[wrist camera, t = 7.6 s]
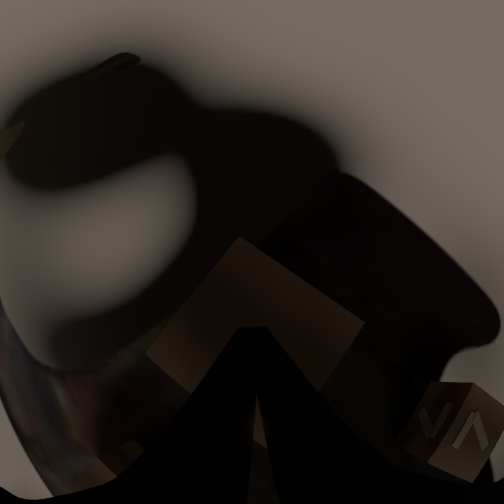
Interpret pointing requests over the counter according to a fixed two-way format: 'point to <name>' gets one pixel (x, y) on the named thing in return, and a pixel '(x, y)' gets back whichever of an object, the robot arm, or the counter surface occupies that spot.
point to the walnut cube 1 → (108, 466)
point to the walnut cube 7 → (454, 428)
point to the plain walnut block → (254, 321)
